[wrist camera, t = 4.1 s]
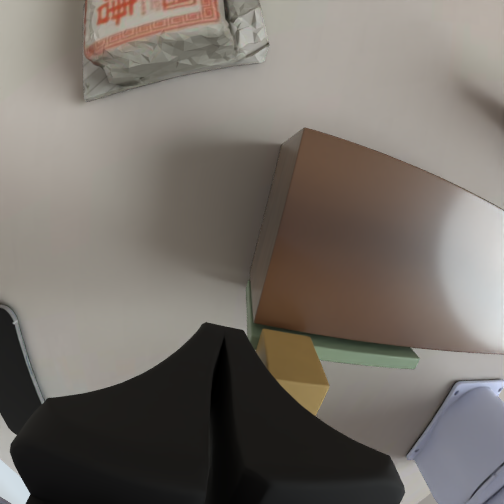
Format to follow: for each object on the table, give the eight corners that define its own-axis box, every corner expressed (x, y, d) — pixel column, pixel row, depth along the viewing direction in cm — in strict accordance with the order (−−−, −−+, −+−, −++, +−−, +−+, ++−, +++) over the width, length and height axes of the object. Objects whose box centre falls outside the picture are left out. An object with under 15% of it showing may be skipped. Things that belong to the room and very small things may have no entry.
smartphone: (10, 432, 20) (-43, 298, 16) (13, 428, 20) (-38, 295, 17) (65, 453, 20) (10, 310, 16) (67, 448, 21) (16, 306, 17)
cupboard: (456, 314, 18) (507, 354, 12) (249, 272, 17) (253, 323, 11) (488, 220, 17) (550, 238, 11) (281, 143, 15) (304, 126, 9)
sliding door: (366, 319, 18) (441, 419, 9) (243, 296, 17) (246, 413, 8) (374, 298, 17) (460, 390, 8) (249, 272, 17) (258, 376, 8)
